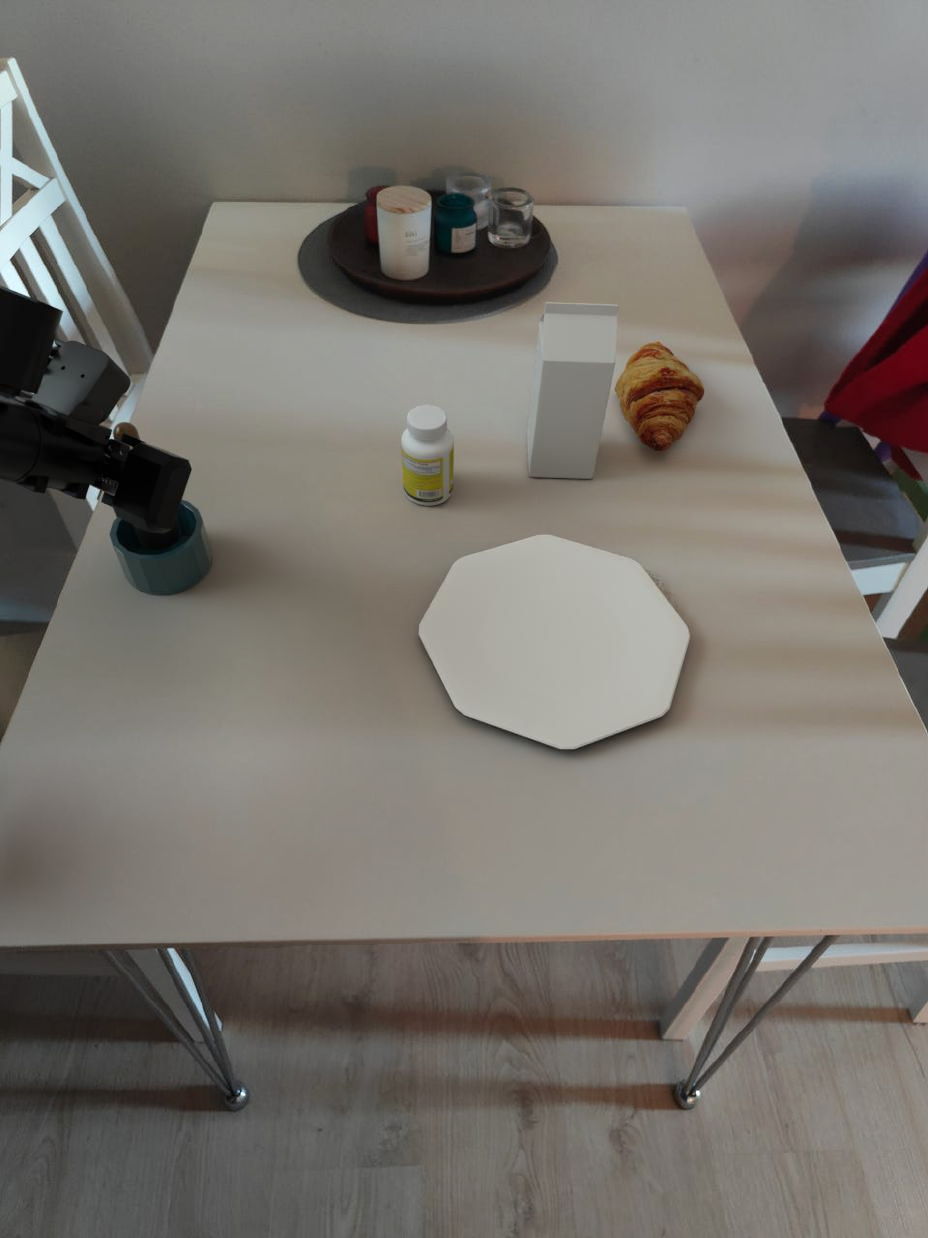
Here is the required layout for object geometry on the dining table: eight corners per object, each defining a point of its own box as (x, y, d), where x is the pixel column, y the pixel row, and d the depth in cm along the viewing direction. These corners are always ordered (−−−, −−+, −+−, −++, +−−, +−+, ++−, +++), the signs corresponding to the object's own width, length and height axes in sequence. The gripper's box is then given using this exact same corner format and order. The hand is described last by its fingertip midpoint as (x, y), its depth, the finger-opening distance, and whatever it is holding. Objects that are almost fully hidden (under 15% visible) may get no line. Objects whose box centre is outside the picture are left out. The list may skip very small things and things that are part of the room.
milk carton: (592, 480, 94) (623, 325, 80) (528, 478, 94) (547, 322, 79) (587, 439, 99) (615, 285, 84) (526, 437, 99) (543, 283, 84)
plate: (390, 587, 83) (390, 576, 82) (601, 525, 90) (604, 514, 88) (490, 787, 70) (491, 779, 68) (730, 697, 76) (735, 688, 75)
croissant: (624, 378, 112) (604, 327, 107) (700, 352, 108) (684, 298, 103) (629, 483, 98) (607, 430, 93) (717, 457, 95) (698, 400, 89)
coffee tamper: (162, 555, 80) (123, 445, 70) (129, 540, 81) (86, 429, 71) (190, 529, 82) (157, 419, 72) (158, 515, 83) (121, 404, 73)
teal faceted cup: (117, 596, 81) (101, 560, 77) (133, 534, 87) (119, 497, 83) (206, 594, 82) (195, 558, 78) (217, 532, 87) (207, 495, 83)
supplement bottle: (429, 467, 95) (429, 393, 87) (463, 491, 92) (466, 417, 85) (392, 489, 92) (389, 415, 85) (426, 514, 90) (426, 441, 82)
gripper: (143, 374, 58) (265, 420, 73) (-50, 298, 64) (100, 355, 78) (94, 527, 60) (223, 541, 75) (-90, 440, 65) (65, 469, 80)
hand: (152, 472), depth 77 cm, fingers closed on coffee tamper, 2 cm apart
